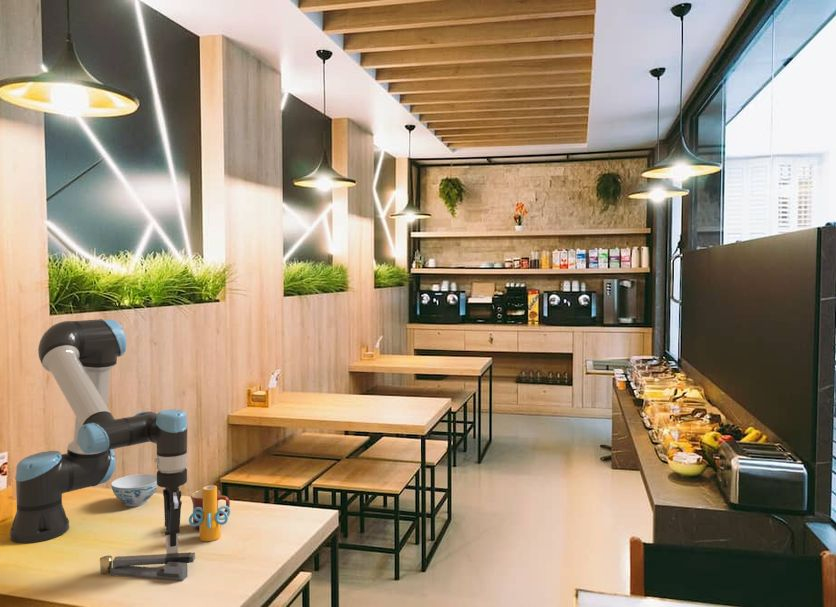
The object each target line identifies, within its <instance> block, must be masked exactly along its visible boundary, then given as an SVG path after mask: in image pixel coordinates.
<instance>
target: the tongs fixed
mask: <svg viewBox="0 0 836 607" xmlns="http://www.w3.org/2000/svg"><path fill="white" fill-rule="evenodd" d="M99 566H100V567H99V571H100V572H99V573H100V575H102V576H105V575H106V576H107V575H110V576H119V577H132V578H144V579H145V578H146V579H153V580H154V579H156V580H165V581H166V580H168V581H179V582H183V581H184V580H186V578H187V577H188V563H180V562H168V563H167V564H164V566H163V567H161V568H160V567H149V566H139V565H136V566H117V567H113V556H112V555H104V556H101V557H100V558H99Z"/></svg>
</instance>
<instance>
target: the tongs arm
mask: <svg viewBox="0 0 836 607" xmlns="http://www.w3.org/2000/svg"><path fill="white" fill-rule="evenodd" d="M195 560H196V552H178V553H169V554H166V553H163V554H162V553H161V554H160V553H159V554H157V553H156V554H143V555H141V554H140V555H121V556H120V555H119V556H115V557H114V558H113V559H112V567H117V566H150V565H151V566H152V565H154V566H155V565H166V564H167V563H168V562H180V563H187V564H189V563H194V561H195Z"/></svg>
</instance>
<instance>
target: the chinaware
mask: <svg viewBox="0 0 836 607" xmlns="http://www.w3.org/2000/svg"><path fill="white" fill-rule="evenodd" d="M110 486H111V489H112V492H113V495H114V496H115V497H116V499H118V500H120V501H121V502H122V503H124V505H125V506H126V507H133V506H134V507H139V506H143V505H145V504H147V502H148V501H147V500H149V499H150V498H151V497H153V495H154V494H155V493H156V491H157V489H158V487H159V486H158V485H157V474H156V475H155V474H149V473H148V474H147V473H140V474H131V475H130V474H129V475H126V476H123V477H119V478H116V479H113V481H112V482H111V484H110ZM134 507H133V508H134Z"/></svg>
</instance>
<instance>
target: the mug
mask: <svg viewBox="0 0 836 607" xmlns="http://www.w3.org/2000/svg"><path fill="white" fill-rule="evenodd" d="M189 496H190V500H191V501H192V511H193V510H194V509H195V508H196V507H200V508H202V509H203V489H197V490H196V491H193V492H192V493H190V495H189ZM220 500H224V501H225V506H228V507H229V508H230V507H231V506H230V505H231V500H230V498H229V497H228V496H226V495H221V490H219V489H217V510H218V508H219V501H220ZM224 509H225V508H224ZM197 511H198V512H201V511H200V510H196V512H197ZM223 511H224V512H226V514H227V513H228V511H227V509H225V510H223ZM201 513H202V512H201ZM219 516H220V517H224V514H222V513H219ZM196 517H197V518H199V519H201V516H200V515H199V514H196ZM192 522H193V523H194V524H196V523H198V522H199V521H196V520H195V519H194V517H192ZM199 526H200V525H198V526H193V527H194V528H195V529H196V530H199Z"/></svg>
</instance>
